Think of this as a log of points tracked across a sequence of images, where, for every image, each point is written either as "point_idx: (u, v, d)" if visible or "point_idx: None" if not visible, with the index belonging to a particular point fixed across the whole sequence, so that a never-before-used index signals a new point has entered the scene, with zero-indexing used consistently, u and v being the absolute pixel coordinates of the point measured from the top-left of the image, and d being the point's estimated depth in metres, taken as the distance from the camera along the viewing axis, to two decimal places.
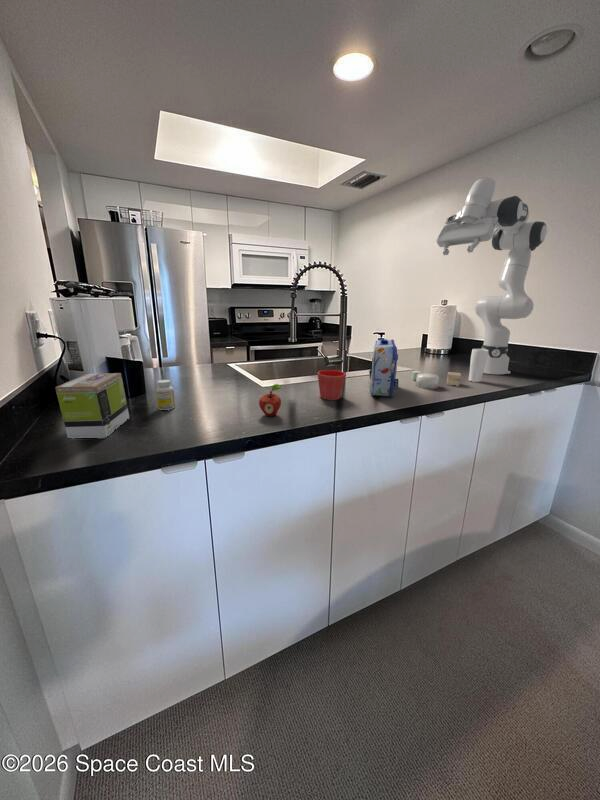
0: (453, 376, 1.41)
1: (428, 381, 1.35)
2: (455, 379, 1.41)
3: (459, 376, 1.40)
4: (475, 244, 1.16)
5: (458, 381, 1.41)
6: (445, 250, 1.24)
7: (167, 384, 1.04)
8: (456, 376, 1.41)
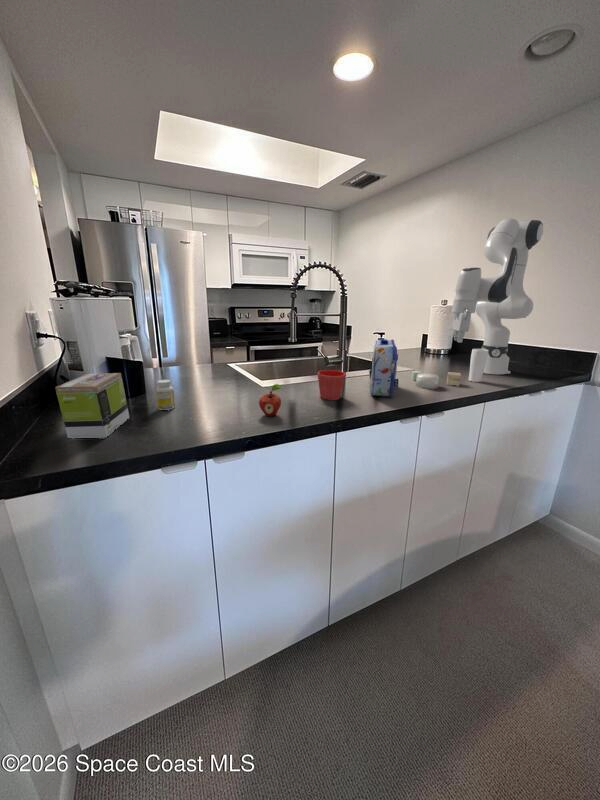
0: (453, 376, 1.41)
1: (428, 381, 1.35)
2: (455, 379, 1.41)
3: (459, 376, 1.40)
4: (460, 336, 1.31)
5: (458, 381, 1.41)
6: (454, 338, 1.42)
7: (167, 384, 1.04)
8: (456, 376, 1.41)
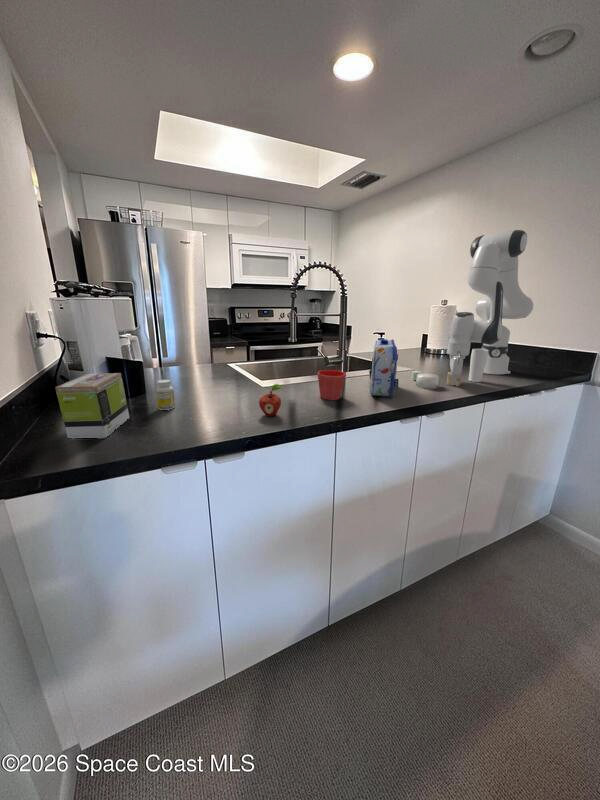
0: None
1: (428, 381, 1.35)
2: None
3: (459, 376, 1.40)
4: (454, 377, 1.39)
5: (458, 381, 1.41)
6: None
7: (167, 384, 1.04)
8: None
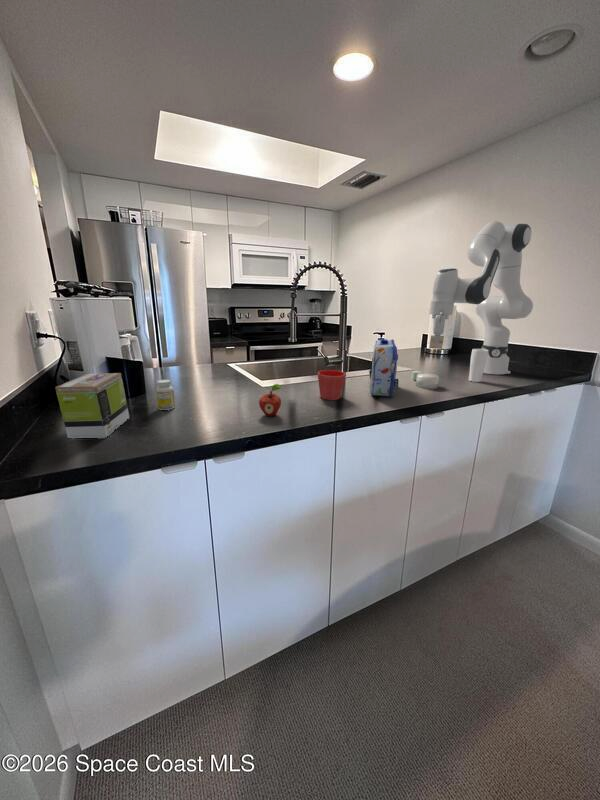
0: None
1: (428, 381, 1.35)
2: None
3: (442, 338, 1.31)
4: (436, 338, 1.30)
5: (441, 343, 1.32)
6: None
7: (167, 384, 1.04)
8: None
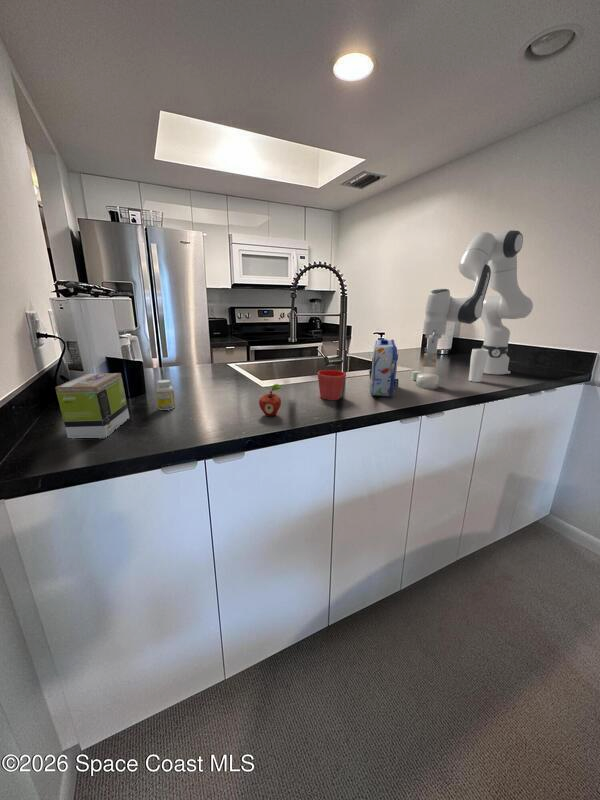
0: None
1: (428, 381, 1.35)
2: None
3: (435, 357, 1.33)
4: (429, 358, 1.32)
5: (434, 362, 1.34)
6: None
7: (167, 384, 1.04)
8: None
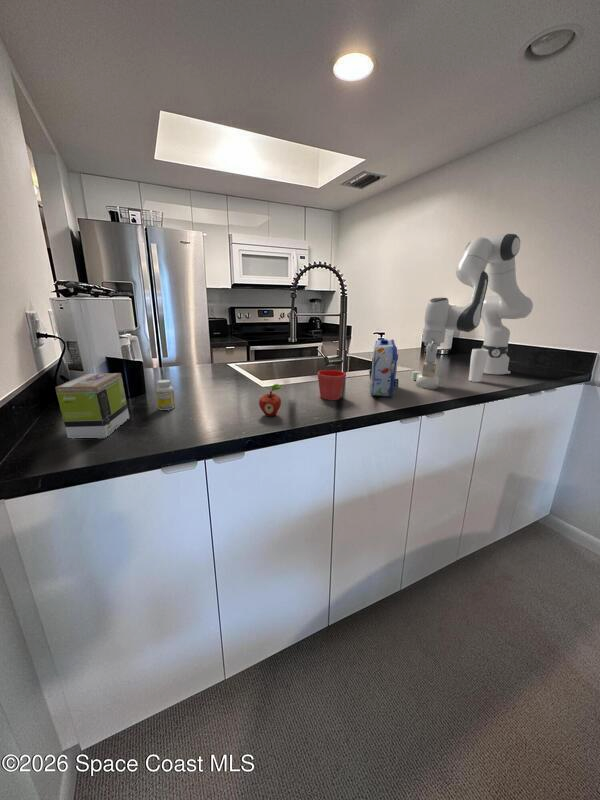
0: None
1: (428, 381, 1.35)
2: None
3: (434, 367, 1.35)
4: (428, 366, 1.32)
5: (433, 372, 1.35)
6: None
7: (167, 384, 1.04)
8: None
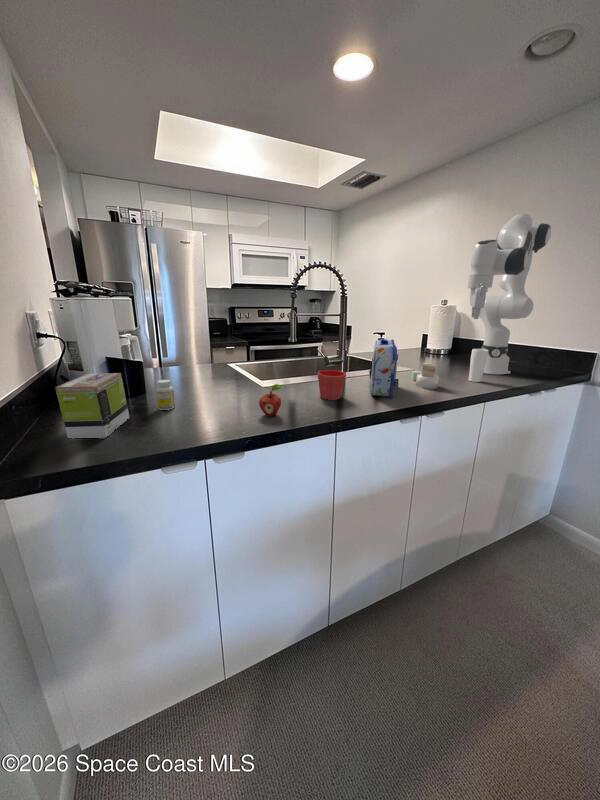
0: (428, 367, 1.36)
1: (428, 381, 1.35)
2: (430, 370, 1.36)
3: (434, 367, 1.35)
4: (476, 312, 1.29)
5: (433, 372, 1.35)
6: None
7: (167, 384, 1.04)
8: (431, 367, 1.35)
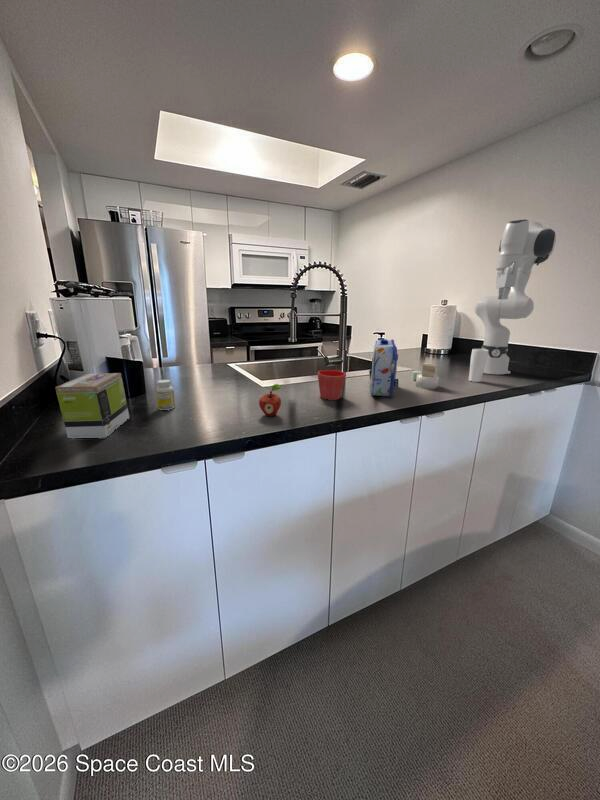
0: (428, 367, 1.36)
1: (428, 381, 1.35)
2: (430, 370, 1.36)
3: (433, 367, 1.35)
4: (505, 292, 1.27)
5: (433, 372, 1.35)
6: (498, 297, 1.38)
7: (167, 384, 1.04)
8: (431, 367, 1.35)
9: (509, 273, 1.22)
